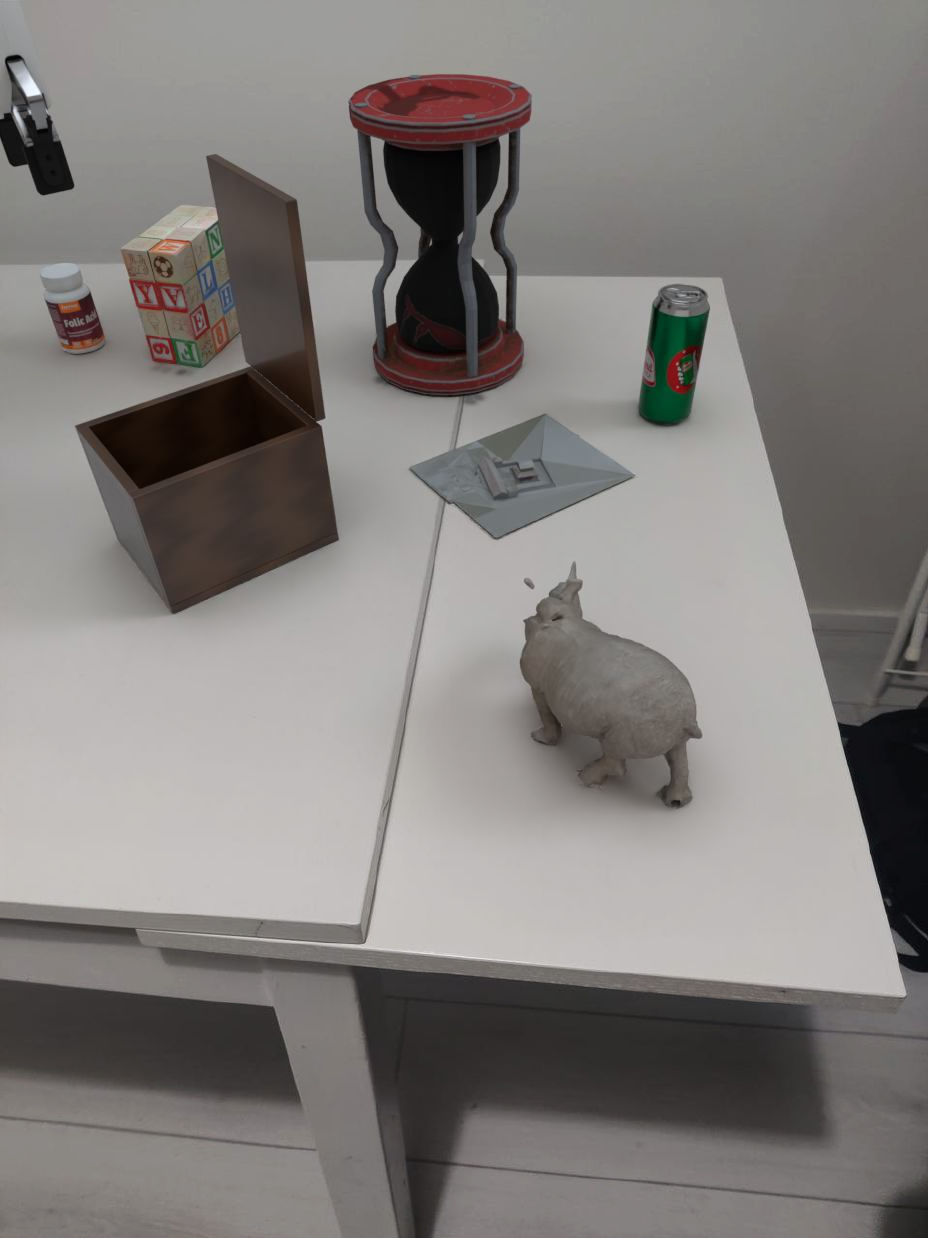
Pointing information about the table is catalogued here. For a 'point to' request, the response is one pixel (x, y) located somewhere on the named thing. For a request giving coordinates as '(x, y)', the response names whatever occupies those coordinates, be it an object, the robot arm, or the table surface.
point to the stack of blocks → (183, 286)
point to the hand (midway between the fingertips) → (41, 176)
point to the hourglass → (443, 226)
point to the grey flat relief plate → (521, 474)
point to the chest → (212, 484)
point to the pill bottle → (72, 308)
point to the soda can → (673, 353)
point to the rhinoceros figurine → (606, 692)
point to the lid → (268, 281)
